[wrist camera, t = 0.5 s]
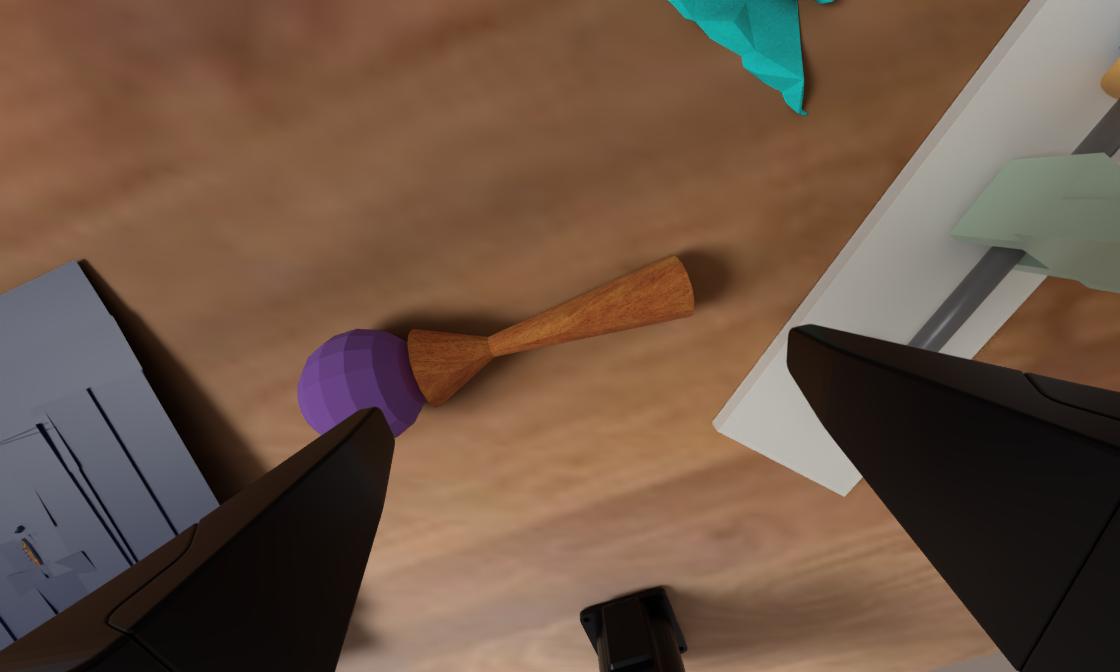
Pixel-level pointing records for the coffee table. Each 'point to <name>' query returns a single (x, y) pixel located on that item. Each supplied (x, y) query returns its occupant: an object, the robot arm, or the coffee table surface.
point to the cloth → (757, 38)
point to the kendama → (473, 349)
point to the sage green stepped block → (1053, 217)
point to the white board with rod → (945, 224)
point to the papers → (79, 453)
